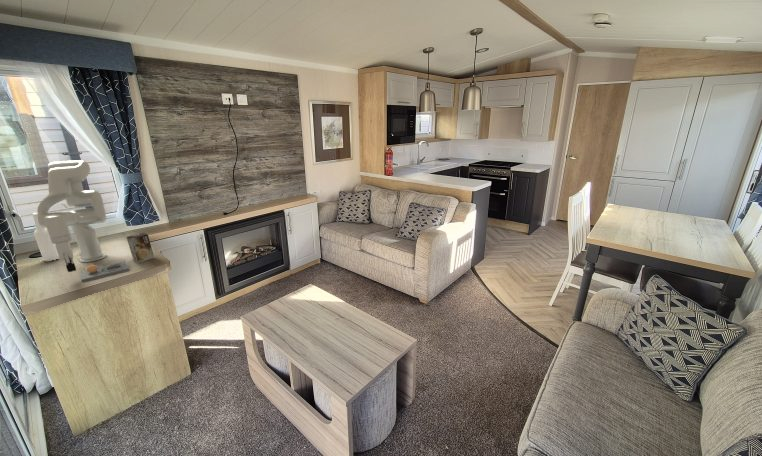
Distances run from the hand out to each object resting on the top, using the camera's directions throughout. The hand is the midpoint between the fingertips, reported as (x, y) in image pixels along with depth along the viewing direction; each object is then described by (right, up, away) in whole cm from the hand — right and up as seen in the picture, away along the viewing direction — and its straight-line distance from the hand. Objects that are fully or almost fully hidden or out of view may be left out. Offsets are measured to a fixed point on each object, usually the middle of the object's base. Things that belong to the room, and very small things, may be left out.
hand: (72, 270), depth 168 cm
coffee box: (+18, +3, +27) cm, 33 cm away
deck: (+9, -2, +10) cm, 14 cm away
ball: (+5, 0, +6) cm, 8 cm away
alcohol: (-41, +3, +30) cm, 51 cm away
